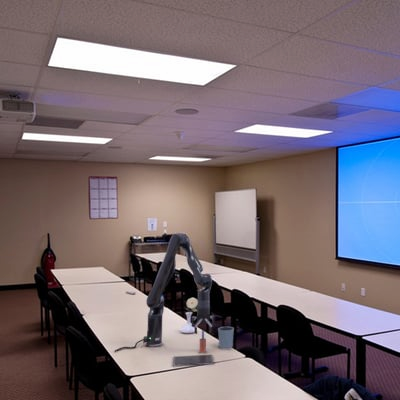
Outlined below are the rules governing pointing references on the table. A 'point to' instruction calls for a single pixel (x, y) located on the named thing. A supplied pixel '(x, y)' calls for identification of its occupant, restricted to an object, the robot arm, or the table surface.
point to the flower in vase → (189, 316)
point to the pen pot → (202, 346)
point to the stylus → (202, 334)
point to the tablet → (193, 360)
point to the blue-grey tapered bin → (226, 337)
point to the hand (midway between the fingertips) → (203, 333)
